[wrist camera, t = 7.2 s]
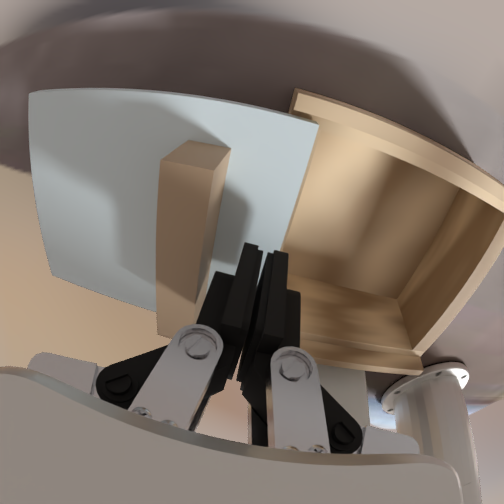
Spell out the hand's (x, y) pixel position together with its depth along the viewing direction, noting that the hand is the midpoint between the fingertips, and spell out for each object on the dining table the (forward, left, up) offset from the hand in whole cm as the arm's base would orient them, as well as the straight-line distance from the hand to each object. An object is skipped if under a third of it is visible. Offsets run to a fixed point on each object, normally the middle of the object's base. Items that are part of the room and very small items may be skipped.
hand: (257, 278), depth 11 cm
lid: (+3, +5, -2) cm, 6 cm away
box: (-2, -6, -8) cm, 10 cm away
